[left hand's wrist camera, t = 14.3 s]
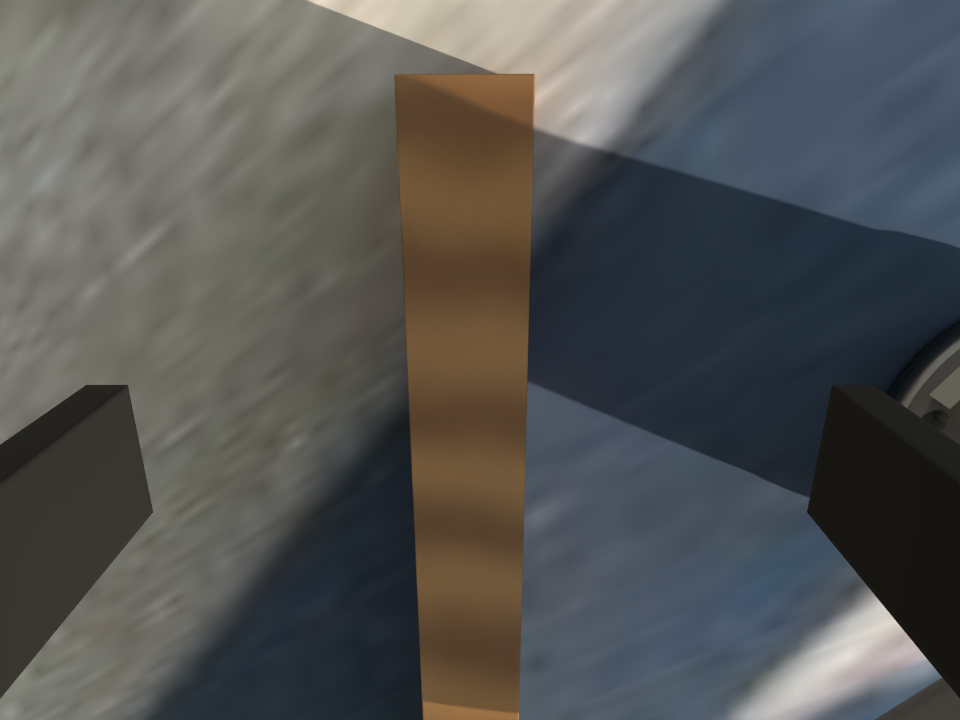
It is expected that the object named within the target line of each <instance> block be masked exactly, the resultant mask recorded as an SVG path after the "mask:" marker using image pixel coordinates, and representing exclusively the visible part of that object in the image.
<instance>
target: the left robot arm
mask: <svg viewBox="0 0 960 720" xmlns="http://www.w3.org/2000/svg"><path fill="white" fill-rule="evenodd" d="M152 513H153V510H152V505H151V500H150V495H149V490H148V485H147V480H146V475H145V470H144V465H143V460H142V455H141V450H140V445H139V440H138V435H137V430H136V425H135V420H134V415H133V410H132V405H131V400H130V395H129V390H128V385H86V386H84V387H83V388H82V389H80V390H79V391H77V392H76V393H74V394H73V395H71V396H70V397H69V398H67V399H66V400H64V401H63V402H61V403H60V404H58V405H57V406H56V407H54V408H53V409H51V410H50V411H48V412H47V413H45V414H44V415H43V416H41V417H40V418H38V419H37V420H35V421H34V422H32V423H31V424H30V425H28V426H27V427H25V428H24V429H22V430H21V431H19V432H18V433H17V434H15V435H14V436H12V437H11V438H9V439H8V440H6V441H5V442H4V443H2V444H1V445H0V698H1V697H2V696H3V695H4V693H5V692H6V691H7V690H8V688H9V687H10V686H11V685H12V684H13V682H14V681H15V680H16V679H17V677H18V676H19V675H20V674H21V673H22V671H23V670H24V669H25V668H26V666H27V665H28V664H29V663H30V662H31V660H32V659H33V658H34V657H35V655H36V654H37V653H38V652H39V651H40V649H41V648H42V647H43V646H44V645H45V643H46V642H47V641H48V640H49V638H50V637H51V636H52V635H53V634H54V632H55V631H56V630H57V629H58V627H59V626H60V625H61V624H62V623H63V621H64V620H65V619H66V618H67V616H68V615H69V614H70V613H71V612H72V610H73V609H74V608H75V607H76V605H77V604H78V603H79V602H80V601H81V599H82V598H83V597H84V596H85V594H86V593H87V592H88V591H89V590H90V588H91V587H92V586H93V585H94V583H95V582H96V581H97V580H98V579H99V577H100V576H101V575H102V574H103V572H104V571H105V570H106V569H107V568H108V566H109V565H110V564H111V563H112V561H113V560H114V559H115V558H116V557H117V555H118V554H119V553H120V552H121V550H122V549H123V548H124V547H125V546H126V544H127V543H128V542H129V541H130V539H131V538H132V537H133V536H134V535H135V533H136V532H137V531H138V530H139V528H140V527H141V526H142V525H143V524H144V522H145V521H146V520H147V519H148V517H149V516H150V515H151V514H152ZM807 513H808V514H809V515H810V516H811V517H812V519H813V520H814V521H815V522H816V524H817V525H818V526H819V527H820V528H821V530H822V531H823V532H824V533H825V535H826V536H827V537H828V538H829V539H830V541H831V542H832V543H833V544H834V546H835V547H836V548H837V549H838V550H839V552H840V553H841V554H842V555H843V557H844V558H845V559H846V560H847V561H848V563H849V564H850V565H851V566H852V568H853V569H854V570H855V571H856V572H857V574H858V575H859V576H860V577H861V579H862V580H863V581H864V582H865V583H866V585H867V586H868V587H869V588H870V590H871V591H872V592H873V593H874V594H875V596H876V597H877V598H878V599H879V601H880V602H881V603H882V604H883V605H884V607H885V608H886V609H887V610H888V612H889V613H890V614H891V615H892V616H893V618H894V619H895V620H896V621H897V623H898V624H899V625H900V626H901V627H902V629H903V630H904V631H905V632H906V634H907V635H908V636H909V637H910V638H911V640H912V641H913V642H914V643H915V645H916V646H917V647H918V648H919V649H920V651H921V652H922V653H923V654H924V655H925V657H926V658H927V659H928V660H929V662H930V663H931V664H932V665H933V666H934V668H935V669H936V670H937V671H938V673H939V674H940V675H941V676H942V677H943V678H941V679H939V680H938V681H936V682H934V683H933V684H931V685H930V686H928V687H926V688H925V689H923V690H922V691H920V692H918V693H917V694H915V695H914V696H912V697H910V698H909V699H907V700H905V701H904V702H902V703H901V704H899V705H897V706H896V707H894V708H893V709H891V710H889V711H888V712H886V713H885V714H883V715H881V716H880V717H878V718H876V719H875V720H960V323H958V324H957V325H955V326H953V327H952V328H950V329H949V330H947V331H946V332H945V333H943V334H942V335H941V336H939V337H938V338H937V339H935V340H934V341H933V342H932V343H931V344H930V345H929V346H927V347H926V348H925V349H924V350H923V351H922V352H921V353H920V354H919V355H918V356H917V357H916V358H915V359H914V360H913V361H912V362H911V364H910V365H909V366H908V367H907V368H906V369H905V371H904V372H903V373H902V375H901V376H900V377H899V379H898V380H897V382H896V383H895V384H894V386H893V388H892V389H891V391H890V393H889V395H887V394H886V393H884V392H883V391H881V390H880V389H878V388H877V387H876V386H874V385H832V390H831V395H830V400H829V405H828V410H827V415H826V420H825V425H824V430H823V435H822V440H821V445H820V450H819V455H818V460H817V465H816V470H815V475H814V480H813V485H812V490H811V495H810V500H809V505H808V510H807Z"/></svg>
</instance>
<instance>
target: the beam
mask: <svg viewBox="0 0 960 720" xmlns="http://www.w3.org/2000/svg"><path fill="white" fill-rule="evenodd" d="M394 78H395V100H396V123H397V145H398V168H399V191H400V213H401V236H402V259H403V281H404V304H405V326H406V349H407V372H408V394H409V417H410V440H411V462H412V485H413V507H414V530H415V553H416V575H417V598H418V621H419V643H420V666H421V688H422V711H423V720H519V686H520V647H521V608H522V568H523V529H524V490H525V451H526V412H527V373H528V334H529V295H530V256H531V217H532V178H533V139H534V100H535V74H395V76H394Z"/></svg>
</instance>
